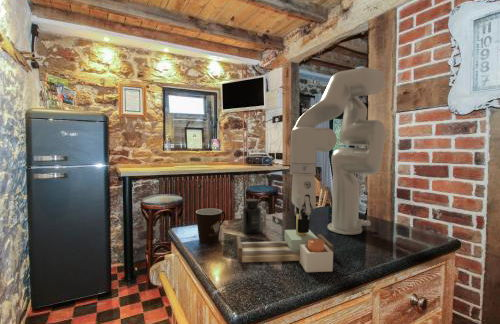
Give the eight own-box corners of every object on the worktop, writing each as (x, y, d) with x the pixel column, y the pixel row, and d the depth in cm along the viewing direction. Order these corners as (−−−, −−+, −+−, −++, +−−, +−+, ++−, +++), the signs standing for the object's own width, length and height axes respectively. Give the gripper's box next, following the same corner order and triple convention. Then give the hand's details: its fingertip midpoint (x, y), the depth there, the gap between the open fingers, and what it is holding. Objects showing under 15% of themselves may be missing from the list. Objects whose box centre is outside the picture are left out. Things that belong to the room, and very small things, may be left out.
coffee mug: (200, 247, 86) (200, 215, 85) (192, 238, 94) (192, 209, 93) (234, 241, 91) (234, 212, 91) (224, 233, 99) (224, 206, 98)
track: (320, 246, 88) (320, 234, 88) (332, 259, 78) (333, 245, 78) (236, 248, 85) (236, 235, 85) (238, 262, 75) (238, 248, 75)
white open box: (323, 261, 77) (324, 243, 77) (332, 271, 71) (333, 252, 71) (299, 262, 76) (300, 244, 76) (306, 272, 70) (306, 253, 70)
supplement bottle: (261, 229, 105) (262, 198, 104) (260, 235, 98) (260, 202, 97) (243, 228, 106) (244, 197, 105) (241, 234, 99) (241, 201, 98)
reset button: (320, 248, 76) (321, 238, 75) (326, 255, 71) (326, 243, 71) (305, 249, 75) (306, 238, 75) (310, 255, 71) (311, 244, 71)
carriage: (309, 238, 87) (309, 210, 86) (318, 249, 78) (319, 218, 77) (284, 239, 86) (284, 211, 86) (291, 250, 77) (292, 219, 77)
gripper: (325, 172, 73) (323, 239, 74) (307, 166, 89) (305, 222, 90) (297, 172, 72) (296, 240, 73) (284, 166, 88) (283, 222, 90)
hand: (301, 229), depth 82 cm, fingers closed on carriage, 3 cm apart
